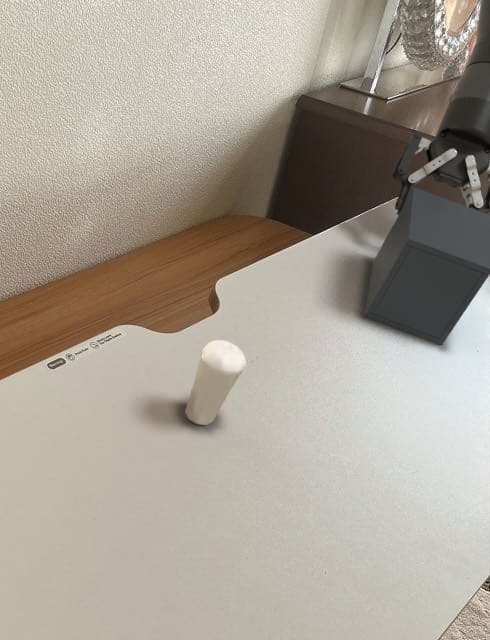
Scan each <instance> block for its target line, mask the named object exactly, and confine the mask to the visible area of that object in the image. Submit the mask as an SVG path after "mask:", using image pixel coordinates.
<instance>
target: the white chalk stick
mask: <svg viewBox="0 0 490 640" xmlns="http://www.w3.org/2000/svg"><path fill="white" fill-rule="evenodd" d="M257 359H259V356H257V357H255V358H254V359H252V361H250V362H249V363H248V364H247V359H246V356H245V353H244V352H243V351H242V350H241V348H239V347H238V346H237V345H236V344H235V343H232V342H230V341H227V340H225V339H215V340H212V341H210V342H208V343H207V344H205V346H204V347H203V349H202V350H201V355H200V358H199V361H198V365H197V370H196V374H195V378H194V381H193V384H192V387H191V390H190V393H189V396H188V400H187V403H186V406H185V410H184V414H185V416H186V418H187V419H188V420H189V421H191V422H192V423H193V424H195V425H200V426H207V425H209V424H212V423H213V422H214V420H215V418H216V416H217V415H218V413H219V411H220V409H221V408H222V406H223V405H224V403H225V401H226V399H227V397H228V396H229V394H230V392H231V390H232V389H233V387H234V386H235V384H236V382H237V381H238V379H239V377H240V375H241V374H242V373H243V371H244V369H246V368H247V367H248V366H250V364H252V363H253V362H255V361H256V360H257Z"/></svg>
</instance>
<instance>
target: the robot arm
mask: <svg viewBox="0 0 490 640" xmlns="http://www.w3.org/2000/svg"><path fill="white" fill-rule="evenodd" d="M475 37H476V38H475V43H474V46H473V47H472V50H471V51H470V55H469V57H468V59H467V62H466V65H465V68H464V70H463V72H462V75H461V76H460V78H459V80H458V81H457V83H456V85H455V87H454V89H453V92H452V94H451V95H450V97H449V100H448V104H447V107H446V109H445V112H444V115H443V117H442V120H441V122H440V124H439V127H438V129H437V132H436V134H435V137H434V139H433V140H430V139H428V138H426V137H423V136H424V135H423V133H422V132H421V131H415V132H414V133H413V134H412V135H411V136H410V138H409V139H408V141H407V143H406V145H405V146H404V149H403V152H402V154H401V156H400V158H399V160H398V162H397V164H396V166H395V169H394V171H393V173H392V178H393V180H395V181H398V182H399V183H400V184H401V189H400V192H399V195H398V197H397V199H396V202H395V204H394V210H397V212H396V215H397V216H398V215H399V214H400V212H401V210H402V208H403V206H404V204H405V203H406V201H407V199H408V197H409V195H410V193H411V192H412V190H413V188H414V187H415V188H417V184H419V183H421V182H423V181H424V180H426V179H427V178H429V177H430V176H432V178H433V179H434V181H435V182H438V183H441V184H443V183H444V184H447V185H448V186H449V187H450V188H453V189H457V188H460V191H461V197H462V198H463V199H464V201H465V204H466V205H465V206H466V207H469V208H472V209H474V210H477V211H480V212H483V213H485V214H489V213H490V185H488V189H487V192H486V195H485V197H484V199H483V195H482V190H481V189H482V185H481V181H480V177H479V176H481V175H483V174H484V173H486V174H487V181H488V183H490V0H480V5H479V13H478V19H477V26H476V36H475ZM422 151H425V152H426V153H425V154H426V157H427V163H426V164H424V165H423V166H422V167H420V168H419V169H418V170H416V171H415V172H413V173H412V172H411V171H410V170H408V169H409V166H410V165H411V162H412V161H413V158H414V156H415V155H419V154H420V153H421V152H422Z"/></svg>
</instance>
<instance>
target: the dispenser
mask: <svg viewBox="0 0 490 640" xmlns="http://www.w3.org/2000/svg"><path fill="white" fill-rule="evenodd" d="M489 276H490V214H489V213H483V212H480V211H477V210H474V209H472V208H469V207H467V205H464V204H461V203H458V202H455V201H453V200H450V199H448V198H445V197H442V196H440V195H436V194H434V193H431V192H428V191H425V190H423V189H420V188H417V187H416V188H415V187H414V188H413V190H412V192H411V193H410V195H409V197H408V199H407V201H406V203H405V204H404V206H403V208H402V210H401V212H400V214H399V215H397V217H396V219H395V221H394V222H393V225H392V226H391V228H390V230H389V232H388V234H387V235H386V237H385V239H384V242H383V243H382V245H381V246H380V248H379V250H378V252H377V254H376V255H375V258H374V259H373V261H372V263H371V270H370V278H369V284H368V290H367V296H366V297H367V298H366V304H365V311H364V318H367V319H369V320H372V321H374V322H378V323H381V324H383V325H386V326H389V327H390V328H391V327H392V328H393V329H396V330H400V331H402V332H405V333H408V334H410V335H413V336H414V337H418V338H420V339H424V340H426V341H429V342H431V343H434V344H437V345H439V346H443V345H444V343H445V341H446V340H447V339H448V337H449V336H450V334H451V333H452V331H453V330H454V329H455V326H456V325H457V324H458V323H459V321H460V319H461V318H462V317H463V315H464V313H465V312H466V310H467V309H468V307H470V304H471V303H472V302H473V300H474V298H475V297H476V296H477V294H478V293H479V291H480V290H481V288H482V286H483V285H484V284H485V282H486V281H487V280H488V279H489Z"/></svg>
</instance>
